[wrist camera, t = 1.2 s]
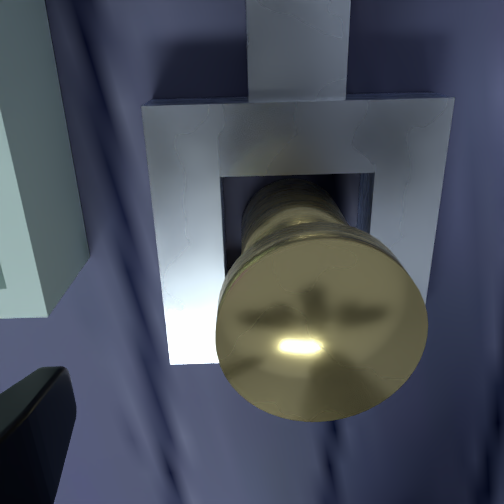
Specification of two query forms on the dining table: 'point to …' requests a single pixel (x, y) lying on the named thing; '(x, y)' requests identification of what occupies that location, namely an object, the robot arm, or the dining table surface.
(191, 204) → the tensioner bracket
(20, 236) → the parts tray
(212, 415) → the dining table surface
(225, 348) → the pin
